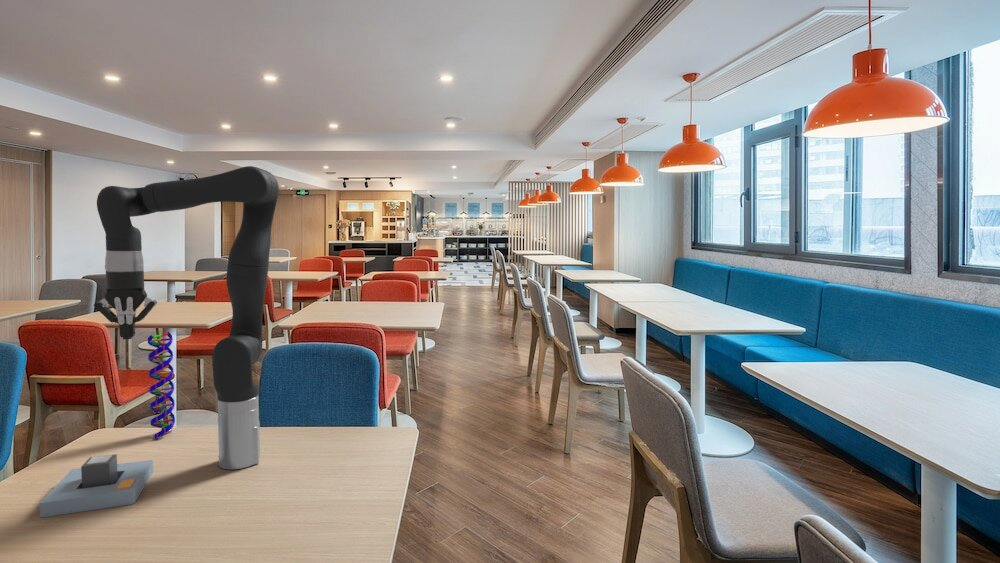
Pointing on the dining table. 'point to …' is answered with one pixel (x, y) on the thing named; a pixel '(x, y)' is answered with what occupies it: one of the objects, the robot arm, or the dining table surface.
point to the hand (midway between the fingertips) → (127, 338)
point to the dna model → (161, 383)
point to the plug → (99, 471)
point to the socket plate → (97, 490)
